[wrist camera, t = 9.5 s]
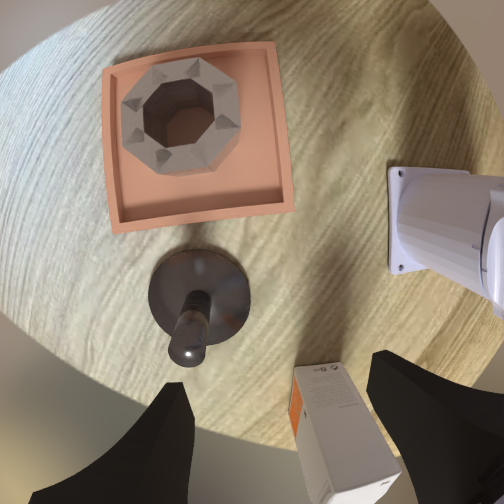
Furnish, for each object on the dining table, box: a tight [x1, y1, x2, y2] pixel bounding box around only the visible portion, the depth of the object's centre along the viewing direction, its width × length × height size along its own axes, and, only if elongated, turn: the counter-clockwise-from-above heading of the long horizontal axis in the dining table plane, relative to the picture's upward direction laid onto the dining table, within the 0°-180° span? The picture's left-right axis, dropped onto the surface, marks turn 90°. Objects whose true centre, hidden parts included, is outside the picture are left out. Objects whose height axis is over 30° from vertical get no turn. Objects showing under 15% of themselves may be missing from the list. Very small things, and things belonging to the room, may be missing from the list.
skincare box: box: [288, 362, 402, 504], centre depth 16 cm, size 6×4×12 cm
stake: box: [148, 249, 251, 367], centre depth 15 cm, size 7×7×6 cm
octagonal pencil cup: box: [121, 57, 241, 177], centre depth 13 cm, size 5×5×5 cm
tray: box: [102, 41, 295, 234], centre depth 15 cm, size 11×11×2 cm
